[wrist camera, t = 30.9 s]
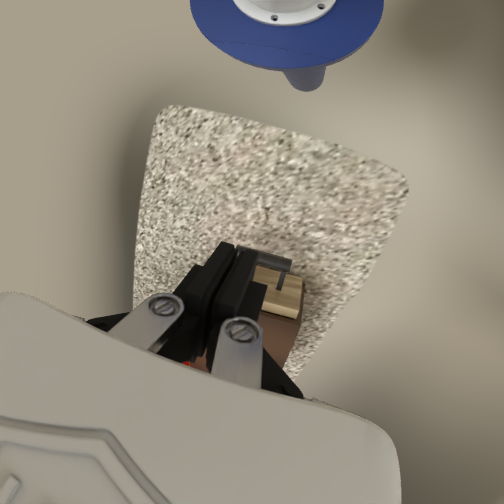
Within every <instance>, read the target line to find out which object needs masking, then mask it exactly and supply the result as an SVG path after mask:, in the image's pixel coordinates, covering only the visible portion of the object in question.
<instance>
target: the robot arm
mask: <svg viewBox="0 0 504 504" xmlns="http://www.w3.org/2000/svg"><path fill="white" fill-rule="evenodd" d="M233 1H234V3H235V4H236V5H237V7H238V8H239V9H240V10H241V11H242V12H243V13H244V14H246V15H247V16H248V17H250V18H252V19H254V20H256V21H258V22H261V23H264V24H267V25H273V26H284V27H289V26H299V25H303V24H307V23H310V22H312V21H315V20H317V19H319V18H320V17H322V16H324V15H325V14H326V13H327V12H328V11H329V10H330V9H331V8H332V7H333V5H334V4H335V2H336V0H233ZM319 8H323V10H321V9H319ZM274 19H278V20H277V21H273V20H274ZM237 253H238V249H235V248H234V245H233V244H229V243H226V242H221V243H220V244H219V245H218V247H217V248H216V250H215V251H214V252H213V254H212V255H211V256H210V258H209V259H208V260H207V262H206V263H205V265H204V266H200V265H197V264H196V265H194V266H193V267H192V269H191V270H190V271H189V273H188V274H187V275H186V276H185V278H184V279H183V280H182V282H181V283H180V284H179V286H178V287H177V288H176V289H175V291H174V292H173V293H172V294H170V293H157V294H153V295H151V296H150V297H148V298H147V299H146V300H144V301H143V302H142V303H141V304H140V305H139V306H137V307H136V308H135V309H134V310H133V311H132V312H127V313H121V314H116V315H111V316H105V317H99V318H94V319H90V320H88V321H86V322H85V320H84V318H81V317H77V316H73V315H70V314H68V313H66V312H64V311H62V310H60V309H58V308H56V307H54V306H52V305H50V304H48V303H46V302H44V301H42V300H40V299H38V298H35V297H33V296H30V295H26V294H23V293H17V292H3V293H0V504H401V479H400V469H399V462H398V457H397V453H396V449H395V446H394V444H393V442H392V440H391V438H390V437H389V435H388V434H387V433H386V432H385V431H384V430H382V429H381V428H380V427H378V426H377V425H375V424H374V423H372V422H370V421H368V420H366V419H365V418H363V417H362V416H360V415H357V414H354V413H352V412H349V411H346V410H344V409H341V408H338V407H336V406H333V405H330V404H328V403H325V402H323V401H320V400H318V399H315V398H312V399H311V400H310V399H307V398H305V397H303V394H302V392H301V391H300V389H299V388H298V387H297V386H296V385H295V384H294V382H293V381H292V380H291V379H290V378H289V377H288V375H287V374H286V373H285V372H284V371H283V370H282V368H281V367H280V366H279V365H278V364H277V363H276V361H275V360H274V359H273V358H272V357H271V356H270V354H269V353H268V352H267V351H266V350H265V348H264V347H263V329H262V328H261V326H260V325H259V324H258V323H257V322H258V319H259V316H260V312H261V309H262V306H263V302H264V298H265V295H266V291H267V287H268V285H266V284H263V283H259V282H256V281H253V278H254V274H255V269H256V265H257V261H258V257H259V251H255V250H251V249H248V248H247V249H246V251H242V250H241V252H240V253H239V255H238V257H237ZM236 258H237V259H236ZM206 348H207V349H206ZM205 350H206V357H205V359H206V367H207V369H208V371H209V372H210V373H207V372H204V371H201V370H198V369H195V368H192V367H189V366H187V365H184V364H182V363H183V362H186V361H189V362H192V363H195V361H196V359H197V357H201V358H202V357H203V355H204V353H205Z"/></svg>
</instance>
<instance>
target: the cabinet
mask: <svg viewBox="0 0 504 504" xmlns="http://www.w3.org/2000/svg"><path fill="white" fill-rule="evenodd" d="M304 290H305V283H302V290H301V299H300V307H299V312H298V315H297V318H296V319H294V318H290V317H289V319H288V318H284V317H281V316H277V315H273V314H270V313H266V312H262V311H261V312H260V316H259V319H258V322H257V323H258V324H259V325H260V326H261V328H262V329H263V347H264V348H265V350H266V351H267V352H268V353H269V354H270V356H271V357H272V358H273V359H274V360H275V361H276V363H277V364H278V365H279V366H280V367H281V368H282V369H283V366H284V364H285V362H286V360H287V357H288V355H289V353H290V350H291V348H292V346H293V343H294V341H295V338H296V336H297V334H298V331H299V329H300V326H301V318H302V309H303V300H304ZM206 349H207V348H206ZM205 357H206V350H205V353H204V355H203V357H202V358H201V357H197V359H196V361H195V363H192V362H191V365H190V367H192V368H195V369H198V370H201V371H204V372H207V373H210V372H209V371H208V369H207V367H206V359H205Z"/></svg>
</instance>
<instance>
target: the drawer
mask: <svg viewBox="0 0 504 504" xmlns="http://www.w3.org/2000/svg"><path fill="white" fill-rule="evenodd" d="M247 248H248V247H244V246H240V245H237V247H236V249H238V253H237V257H238V255H239V253H240V252H241V250H242V251H246V249H247ZM248 249H251V248H248ZM251 250H255V249H251ZM255 251H259V250H255ZM236 259H237V258H236ZM291 263H292V260H291V259H288V258H284V257H281V256H277V255H273V254H270V253H266V252H262V251H259V257H258V261H257V264H260V265H263V266H267V267H271V268H274V269H278V270H281V272H279V271H276V270H272V269H268V268H265V267H261V266H257V265H256V269H255V274H254V278H253V281H256V282H259V283H263V284H266V285H268V287H267V291H266V295H265V298H264V302H263V306H262V309H261V310H264V311H268V312H267V313H270V314H273V315H277V316H281V317H284V318H288V319H289V317H290V318H294V319H296V318H297V315H298V312H299V307H300V299H301V290H302V281H303V278H301V277H297V276H294V275H290V274H286V273H287V272H289V270H290V267H291Z"/></svg>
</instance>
